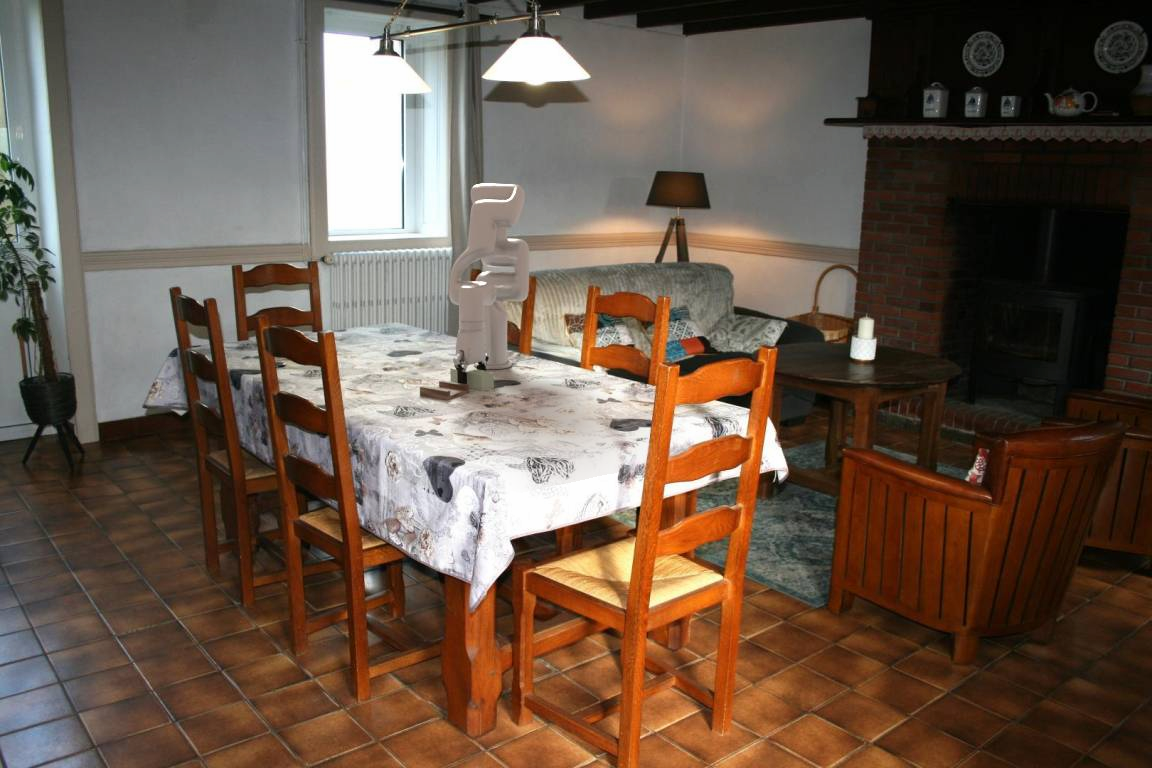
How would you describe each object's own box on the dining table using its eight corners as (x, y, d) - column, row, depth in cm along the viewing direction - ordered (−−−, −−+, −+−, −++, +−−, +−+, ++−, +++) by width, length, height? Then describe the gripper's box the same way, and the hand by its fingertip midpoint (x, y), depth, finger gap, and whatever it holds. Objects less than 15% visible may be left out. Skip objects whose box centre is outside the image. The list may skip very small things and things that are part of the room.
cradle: (442, 388, 297) (442, 380, 297) (469, 392, 293) (468, 384, 292) (419, 395, 289) (419, 387, 288) (447, 400, 284) (447, 391, 283)
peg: (462, 381, 308) (462, 365, 307) (493, 388, 299) (493, 372, 298) (450, 384, 305) (450, 368, 304) (481, 391, 296) (481, 375, 295)
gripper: (478, 321, 307) (478, 374, 311) (443, 328, 292) (444, 385, 296) (498, 323, 303) (498, 377, 307) (464, 331, 289) (464, 388, 293)
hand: (471, 381), depth 302 cm, fingers open, 9 cm apart
